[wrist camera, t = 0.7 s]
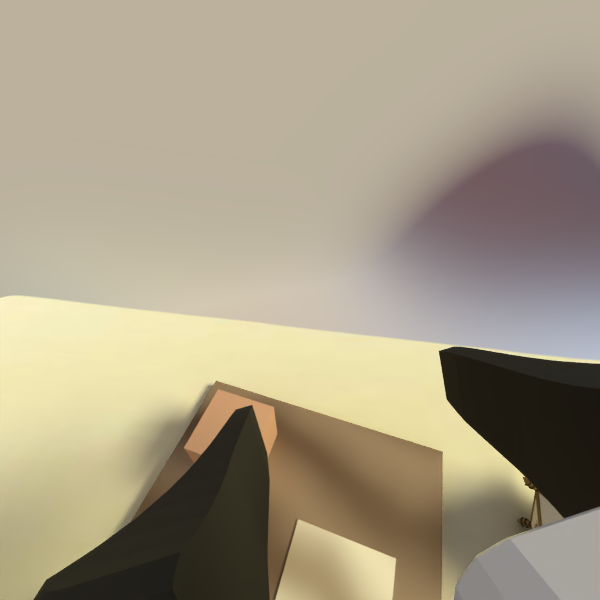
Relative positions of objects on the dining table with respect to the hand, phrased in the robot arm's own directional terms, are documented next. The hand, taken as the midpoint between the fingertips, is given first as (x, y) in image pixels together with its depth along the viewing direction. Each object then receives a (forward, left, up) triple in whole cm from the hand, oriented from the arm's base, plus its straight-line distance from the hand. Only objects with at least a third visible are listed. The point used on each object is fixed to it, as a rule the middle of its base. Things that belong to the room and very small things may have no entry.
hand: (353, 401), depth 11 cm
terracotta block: (+1, +8, -15) cm, 17 cm away
